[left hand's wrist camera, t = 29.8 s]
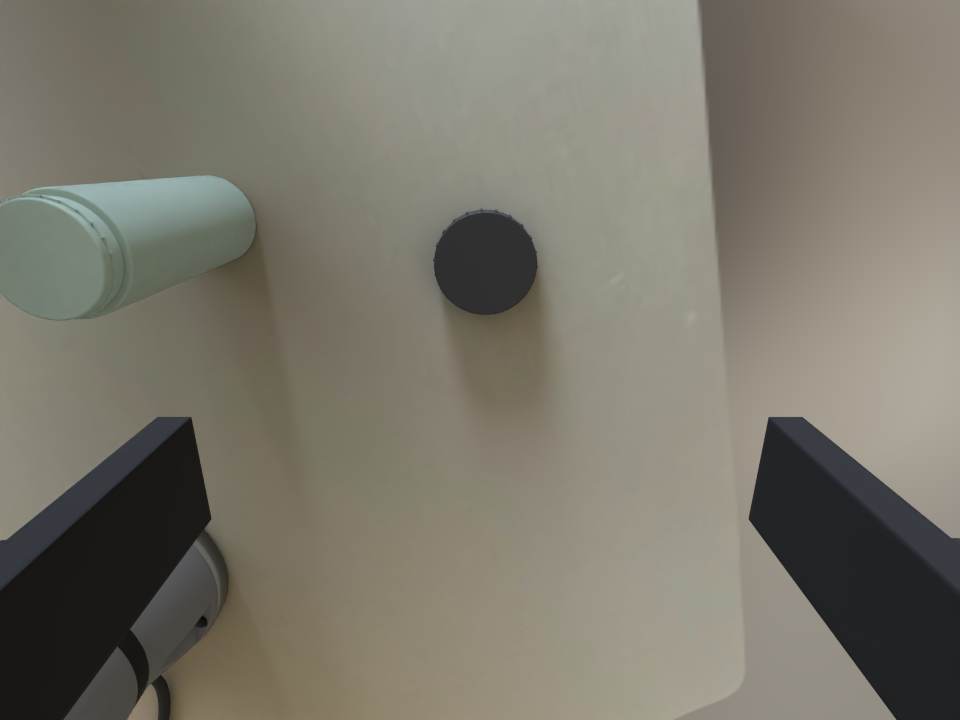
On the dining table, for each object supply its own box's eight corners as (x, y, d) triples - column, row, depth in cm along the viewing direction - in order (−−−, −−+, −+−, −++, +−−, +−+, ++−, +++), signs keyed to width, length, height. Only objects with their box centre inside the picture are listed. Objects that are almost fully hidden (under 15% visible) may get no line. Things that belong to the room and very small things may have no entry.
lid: (426, 299, 38) (424, 304, 37) (445, 198, 36) (443, 200, 35) (522, 318, 39) (523, 324, 37) (546, 220, 36) (549, 223, 35)
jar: (273, 221, 36) (141, 265, 22) (221, 278, 38) (64, 354, 24) (205, 156, 35) (17, 156, 21) (153, 217, 36) (-58, 258, 22)
